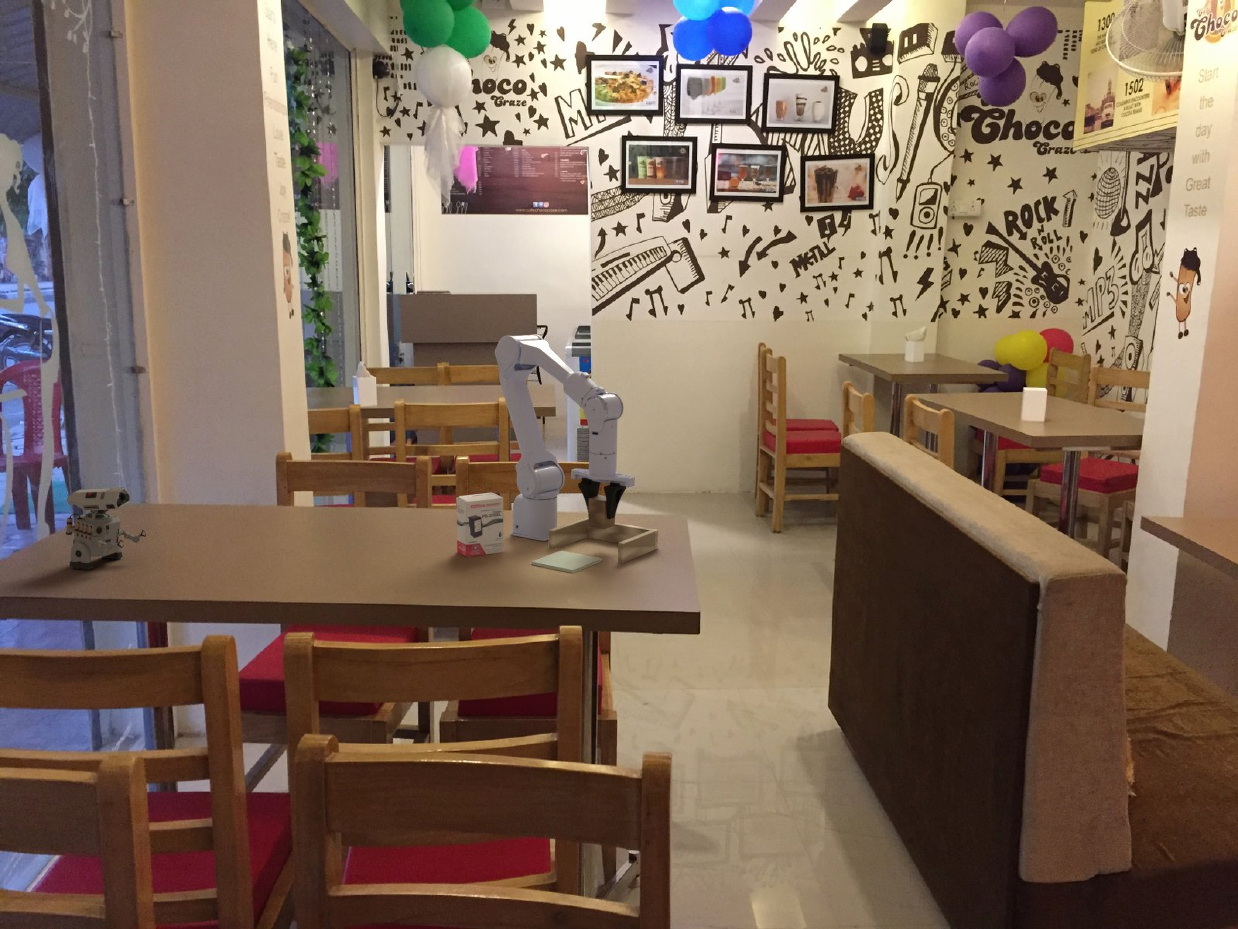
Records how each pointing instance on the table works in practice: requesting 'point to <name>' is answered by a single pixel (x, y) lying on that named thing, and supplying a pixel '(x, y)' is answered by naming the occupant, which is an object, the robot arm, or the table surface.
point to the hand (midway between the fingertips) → (601, 516)
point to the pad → (566, 561)
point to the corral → (608, 537)
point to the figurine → (97, 526)
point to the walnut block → (599, 513)
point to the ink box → (479, 524)
